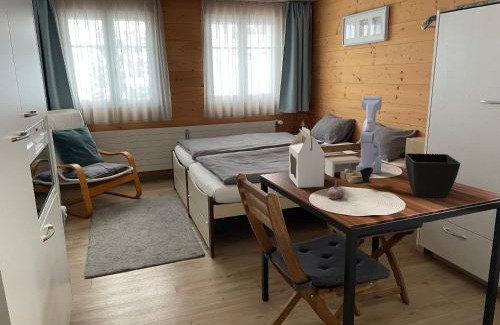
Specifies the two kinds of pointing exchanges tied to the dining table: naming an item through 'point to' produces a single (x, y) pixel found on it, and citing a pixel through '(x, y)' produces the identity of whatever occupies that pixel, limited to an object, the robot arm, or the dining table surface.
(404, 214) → the dining table surface
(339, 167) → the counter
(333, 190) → the garlic bulb
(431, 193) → the flower pot
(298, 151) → the gable box
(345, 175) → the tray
